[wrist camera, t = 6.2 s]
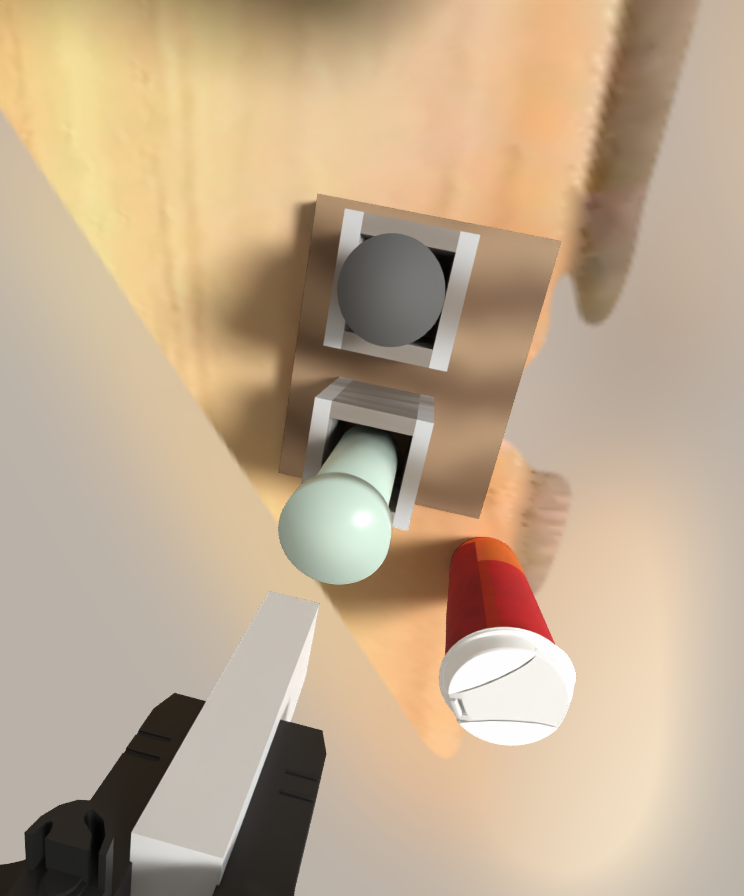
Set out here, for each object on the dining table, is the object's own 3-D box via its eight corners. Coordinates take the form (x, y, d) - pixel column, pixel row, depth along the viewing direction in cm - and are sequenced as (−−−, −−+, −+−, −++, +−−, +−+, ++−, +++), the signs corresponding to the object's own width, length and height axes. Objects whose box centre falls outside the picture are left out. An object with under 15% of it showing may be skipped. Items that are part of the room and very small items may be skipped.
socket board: (324, 199, 33) (282, 162, 24) (553, 244, 32) (600, 223, 23) (286, 464, 39) (241, 513, 30) (476, 508, 38) (489, 572, 29)
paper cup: (452, 613, 42) (461, 761, 28) (425, 538, 40) (421, 658, 26) (543, 594, 40) (596, 741, 27) (519, 514, 38) (564, 629, 25)
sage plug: (338, 409, 30) (286, 470, 19) (412, 426, 30) (400, 497, 19) (326, 478, 32) (271, 570, 21) (397, 494, 31) (377, 595, 21)
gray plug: (377, 248, 31) (347, 223, 20) (449, 263, 31) (457, 245, 20) (363, 323, 33) (329, 335, 22) (432, 337, 32) (431, 356, 22)
